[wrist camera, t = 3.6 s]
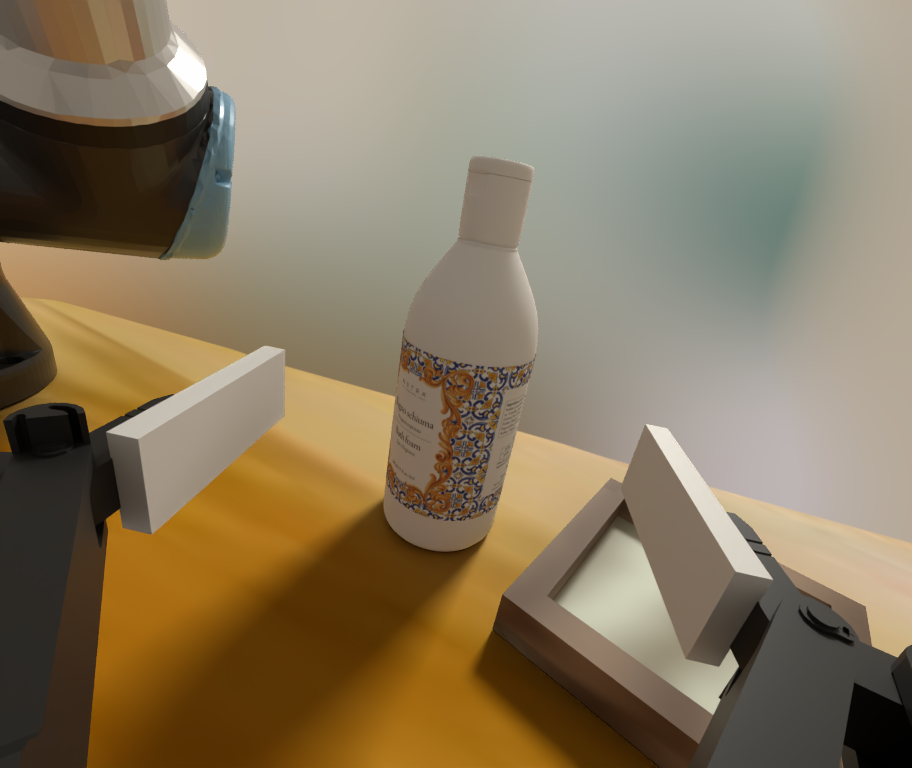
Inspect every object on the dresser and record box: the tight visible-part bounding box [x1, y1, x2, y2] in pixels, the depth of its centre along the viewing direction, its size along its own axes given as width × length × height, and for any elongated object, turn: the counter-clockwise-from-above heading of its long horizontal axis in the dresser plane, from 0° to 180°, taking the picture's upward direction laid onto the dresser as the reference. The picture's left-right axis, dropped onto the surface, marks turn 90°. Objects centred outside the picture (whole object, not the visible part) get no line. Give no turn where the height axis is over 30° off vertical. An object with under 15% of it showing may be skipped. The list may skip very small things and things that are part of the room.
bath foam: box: [384, 156, 538, 552], centre depth 23 cm, size 7×7×20 cm
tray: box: [493, 478, 872, 768], centre depth 21 cm, size 14×14×2 cm
